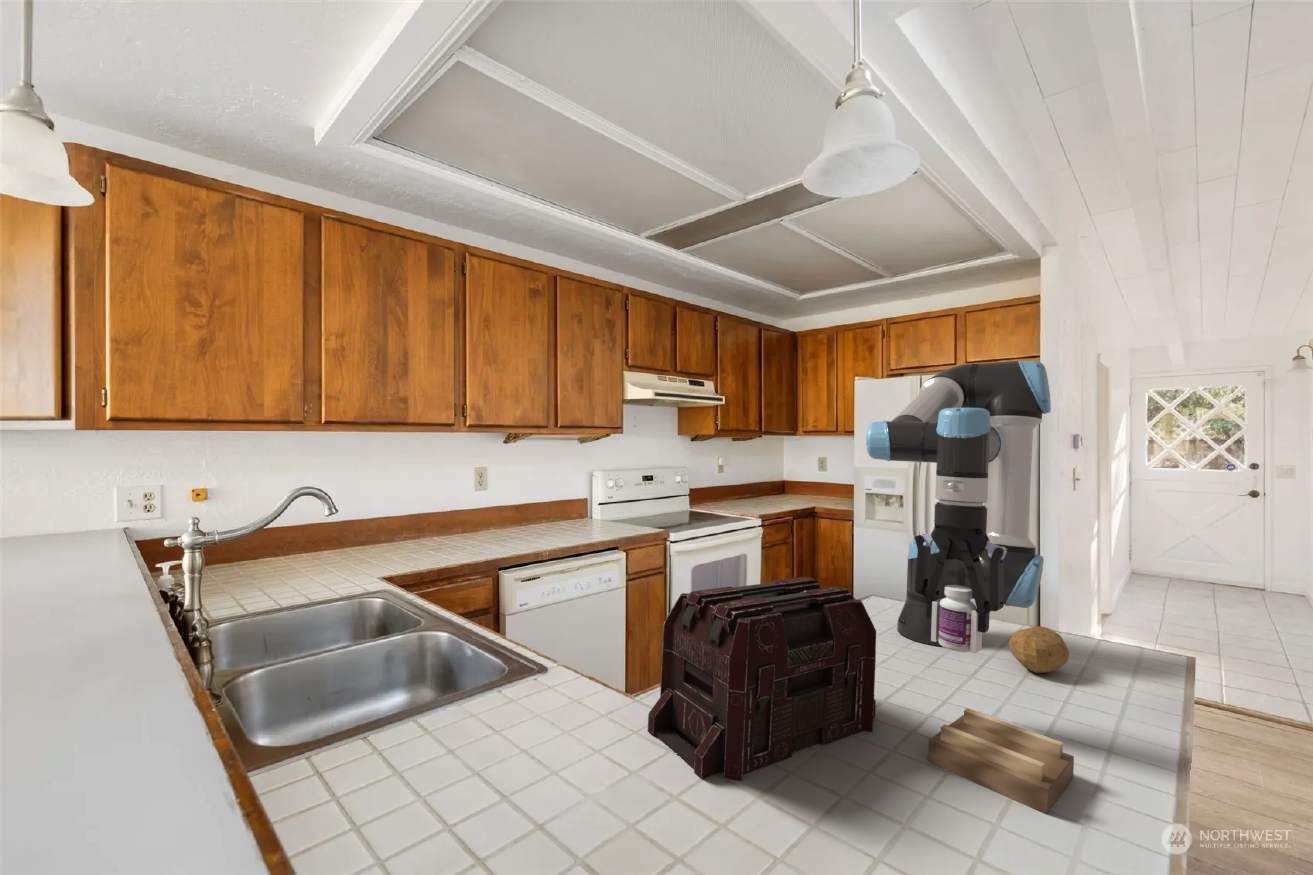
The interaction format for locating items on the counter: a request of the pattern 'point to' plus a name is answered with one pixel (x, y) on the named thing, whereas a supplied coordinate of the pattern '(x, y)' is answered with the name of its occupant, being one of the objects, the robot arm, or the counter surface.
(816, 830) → the counter surface
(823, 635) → the crate
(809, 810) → the counter surface
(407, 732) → the counter surface
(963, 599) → the pill bottle
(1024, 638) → the potato
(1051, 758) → the display pedestal
